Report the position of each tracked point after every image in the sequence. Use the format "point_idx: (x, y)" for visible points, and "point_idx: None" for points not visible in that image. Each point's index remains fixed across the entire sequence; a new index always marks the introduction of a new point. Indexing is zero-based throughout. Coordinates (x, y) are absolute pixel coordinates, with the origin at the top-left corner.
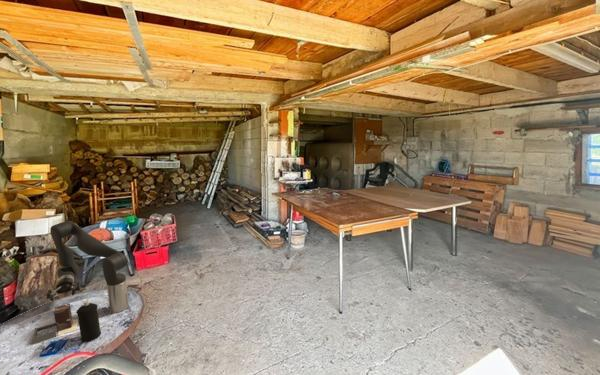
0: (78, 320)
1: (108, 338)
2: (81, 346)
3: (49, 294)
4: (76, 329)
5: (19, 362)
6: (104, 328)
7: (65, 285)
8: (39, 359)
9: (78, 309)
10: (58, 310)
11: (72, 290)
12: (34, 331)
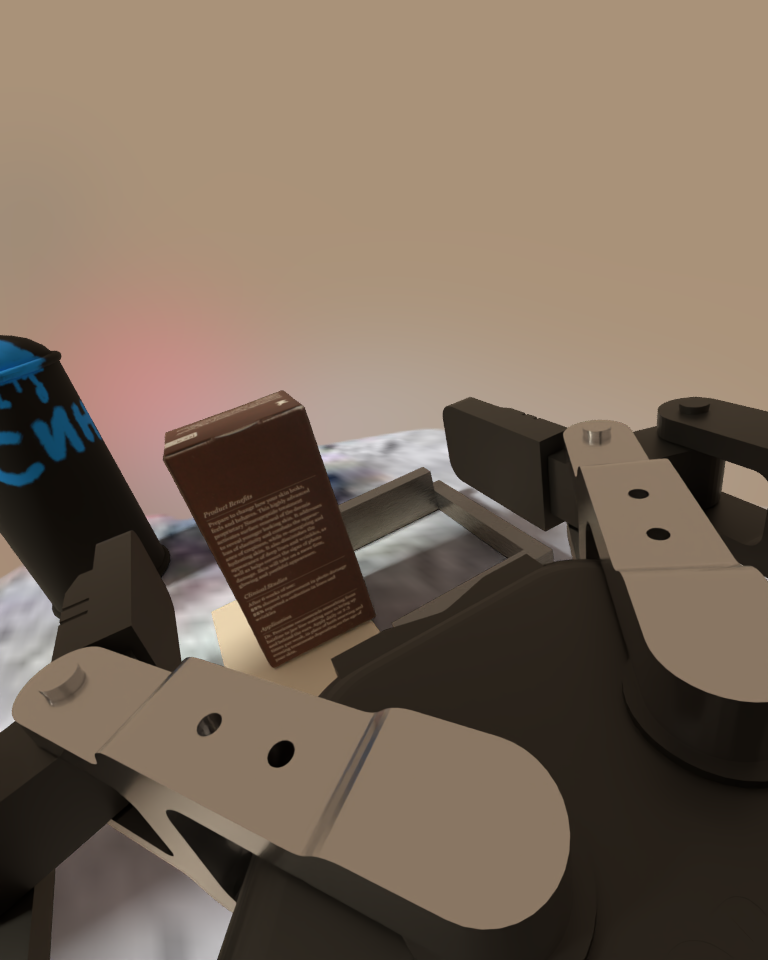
0: (90, 417)
1: (27, 580)
2: (161, 530)
3: (682, 450)
4: (214, 611)
5: (403, 446)
6: (25, 642)
7: (535, 768)
8: (325, 466)
9: (35, 344)
10: (247, 403)
11: (116, 575)
12: (516, 529)
